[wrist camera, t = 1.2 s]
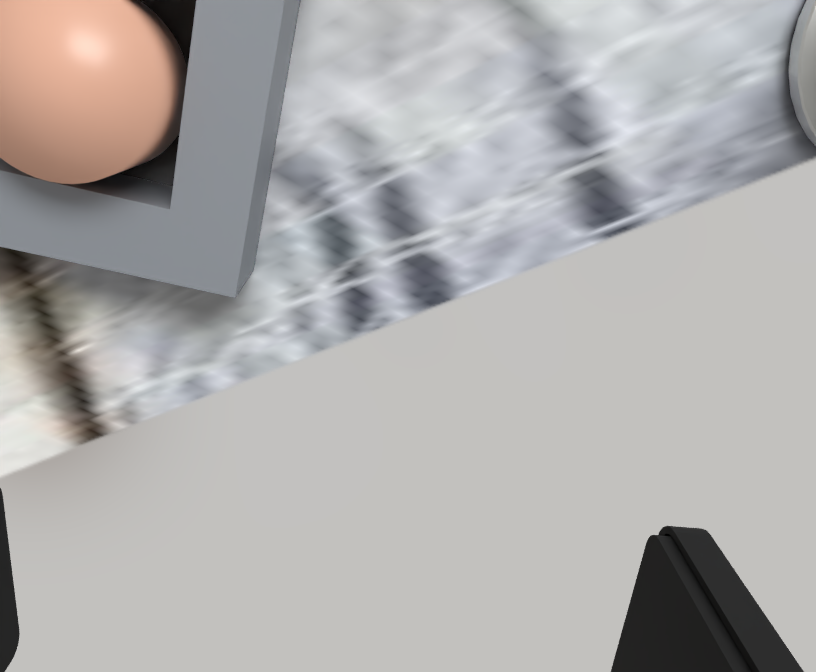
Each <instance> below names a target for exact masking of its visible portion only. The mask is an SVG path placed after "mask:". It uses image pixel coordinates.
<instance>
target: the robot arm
mask: <svg viewBox="0 0 816 672" xmlns="http://www.w3.org/2000/svg"><path fill="white" fill-rule="evenodd" d="M788 72H789V84H790V96H791V99H792V102H793V106H794V109H795V113H796V116H797V119H798V121H799V122H800V124H801V126H802V128H803V130H804V132H805V134H806V135H807V137H808V138H809V139H810V140H811V141H812V143H813V144H814V145H815V146H816V0H806V3H805V5H804V7H803V9H802V12H801V14H800V16H799V18H798V22H797V25H796V29H795V33H794V36H793V40H792V44H791V51H790V61H789V71H788ZM18 641H19V625H18V616H17V608H16V600H15V592H14V584H13V576H12V568H11V560H10V551H9V544H8V535H7V527H6V520H5V512H4V503H3V496H2V491H1V488H0V672H5V670H6V669H7V667H8V665H9V664H10V662H11V661H12V659H13V657H14V655H15V652H16V649H17V646H18ZM611 672H803V670H802V669H801V667H800V666H799V664H798V663H797V661H796V660H795V658H794V657H793V655H792V654H791V652H790V651H789V649H788V648H787V647H786V645H785V644H784V642H783V641H782V639H781V638H780V637H779V635H778V633H777V632H776V630H775V629H774V627H773V626H772V625H771V623H770V622H769V620H768V619H767V617H766V616H765V614H764V613H763V612H762V610H761V608H760V607H759V605H758V604H757V603H756V601H755V600H754V598H753V597H752V595H751V594H750V592H749V591H748V589H747V588H746V586H745V585H744V583H743V582H742V581H741V579H740V578H739V576H738V575H737V573H736V572H735V570H734V569H733V568H732V566H731V565H730V563H729V561H728V560H727V559H726V557H725V556H724V554H723V553H722V551H721V550H720V548H719V547H718V546H717V544H716V543H715V541H714V539H713V538H712V537H711V535H710V534H709V533H708V532H707V531H706V530H704V529H699V528H686V527H673V526H666V527H663V528H662V529H661V531H660V532H659V535H652V536H650V537H649V539H648V541H647V543H646V546H645V550H644V554H643V558H642V561H641V565H640V568H639V572H638V575H637V579H636V583H635V586H634V590H633V594H632V597H631V601H630V604H629V608H628V612H627V615H626V619H625V622H624V626H623V630H622V633H621V637H620V640H619V644H618V648H617V651H616V655H615V659H614V662H613V666H612V670H611Z"/></svg>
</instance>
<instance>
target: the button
mask: <svg viewBox="0 0 816 672" xmlns="http://www.w3.org/2000/svg"><path fill="white" fill-rule="evenodd" d="M187 70H188V69H187V65H186V62H185V59H184V56H183V53H182V51H181V49H180V47H179V44H178V42H177V41H176V39H175V37H174V36H173V34H172V32H171V31H170V30H169V28H168V27H167V26H166V24H165V23H164V22H163V21H162V20H161V19H160V18H159V17H158V16H157V15H156V13H155V12H153V11H152V10H151V9H150V8H148V7H147V6H146V5H145V4H143V3H142V2H140V1H139V0H0V158H1V159H3V160H4V161H5V162H7V163H8V164H10V165H11V166H13V167H15V168H16V169H18V170H20V171H22V172H24V173H26V174H28V175H31V176H33V177H35V178H39V179H42V180H45V181H49V182H55V183H61V184H80V183H89V182H93V181H97V180H100V179H103V178H106V177H108V176H111V175H114V174H117V173H119V172H122V171H125V170H127V169H130V168H133V167H135V166H138V165H141V164H143V163H146V162H148V161H150V160H152V159H154V158H155V157H157V156H158V155H160V154H161V153H162V152H163V151H165V150H166V149H167V148H168V147H169V146H170V145H171V144H172V143H173V141H174V140H175V138H176V137H177V135H178V134H179V132H180V126H181V118H182V110H183V102H184V94H185V86H186V78H187Z"/></svg>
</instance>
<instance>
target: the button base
mask: <svg viewBox="0 0 816 672" xmlns="http://www.w3.org/2000/svg"><path fill="white" fill-rule="evenodd" d="M299 5H300V0H196V7H195V15H194V23H193V31H192V38H191V46H190V54H189V62H188V70H187V78H186V86H185V94H184V102H183V110H182V118H181V126H180V134H179V142H178V150H177V158H176V166H175V174H174V182H173V186H171V185H166V184H162V183H158V182H153V181H149V180H145V179H141V178H136V177H132V176H128V175H124V174H119V173H117V174H114V175H111V176H108V177H106V178H103V179H100V180H97V181H93V182H89V183H80V184H61V183H55V182H49V181H45V180H42V179H39V178H35V177H33V176H31V175H28V174H26V173H24V172H22V171H20V170H18V169H16V168H15V167H13V166H11V165H10V164H8V163H7V162H5V161H4V160H3V159H1V158H0V247H4V248H9V249H13V250H18V251H23V252H27V253H32V254H36V255H41V256H45V257H50V258H55V259H59V260H64V261H68V262H73V263H78V264H82V265H87V266H91V267H96V268H100V269H105V270H110V271H114V272H119V273H123V274H128V275H133V276H137V277H142V278H146V279H151V280H155V281H160V282H165V283H169V284H174V285H178V286H183V287H188V288H192V289H197V290H201V291H206V292H210V293H215V294H220V295H224V296H229V297H233V298H235V297H236V296H237V294H238V293H239V291H240V290H241V288H242V287H243V285H244V284H245V282H246V281H247V279H248V278H249V276H250V275H251V273H252V272H253V270H254V265H255V259H256V253H257V248H258V242H259V236H260V230H261V224H262V219H263V213H264V207H265V201H266V196H267V190H268V184H269V178H270V172H271V167H272V161H273V155H274V149H275V144H276V138H277V132H278V126H279V120H280V115H281V109H282V103H283V97H284V92H285V86H286V80H287V74H288V68H289V63H290V57H291V51H292V45H293V39H294V34H295V28H296V22H297V16H298V11H299Z"/></svg>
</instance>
